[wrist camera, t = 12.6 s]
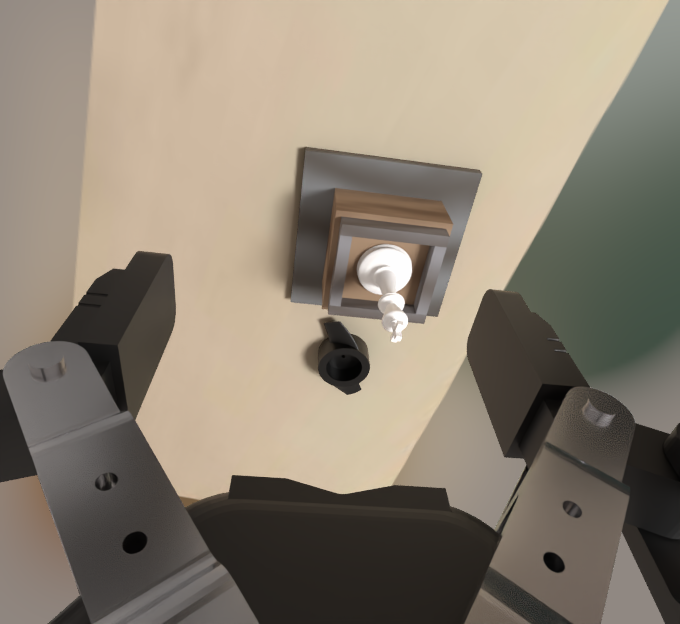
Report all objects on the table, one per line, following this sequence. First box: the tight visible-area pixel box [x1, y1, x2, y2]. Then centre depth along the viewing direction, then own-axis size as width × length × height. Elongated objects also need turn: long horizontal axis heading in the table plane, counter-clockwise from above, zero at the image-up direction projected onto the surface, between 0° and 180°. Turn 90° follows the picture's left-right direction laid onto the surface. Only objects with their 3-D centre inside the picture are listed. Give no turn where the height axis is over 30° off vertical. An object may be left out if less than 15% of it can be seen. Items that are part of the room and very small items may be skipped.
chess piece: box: [357, 244, 412, 342], centre depth 39 cm, size 5×5×10 cm
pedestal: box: [291, 147, 482, 324], centre depth 45 cm, size 16×16×8 cm
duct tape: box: [318, 322, 370, 395], centre depth 56 cm, size 8×10×3 cm
